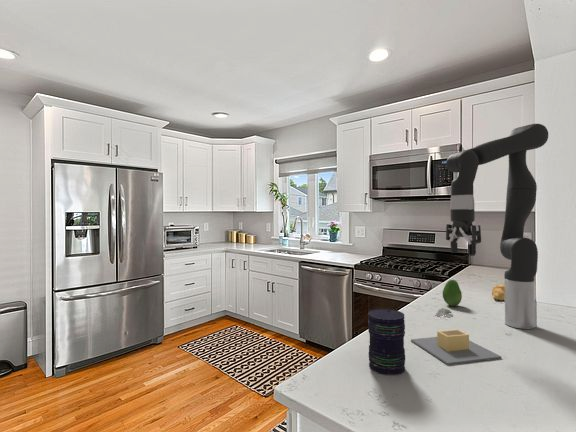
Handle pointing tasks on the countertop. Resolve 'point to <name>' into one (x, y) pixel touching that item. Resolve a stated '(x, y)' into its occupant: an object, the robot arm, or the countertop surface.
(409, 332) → the countertop surface
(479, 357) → the mat
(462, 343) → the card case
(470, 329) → the countertop surface
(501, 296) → the croissant
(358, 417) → the countertop surface
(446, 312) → the grey-green jagged piece
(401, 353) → the storage jar
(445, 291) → the avocado
